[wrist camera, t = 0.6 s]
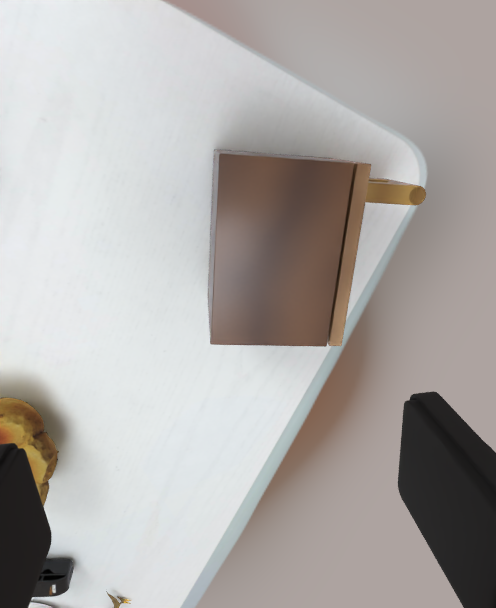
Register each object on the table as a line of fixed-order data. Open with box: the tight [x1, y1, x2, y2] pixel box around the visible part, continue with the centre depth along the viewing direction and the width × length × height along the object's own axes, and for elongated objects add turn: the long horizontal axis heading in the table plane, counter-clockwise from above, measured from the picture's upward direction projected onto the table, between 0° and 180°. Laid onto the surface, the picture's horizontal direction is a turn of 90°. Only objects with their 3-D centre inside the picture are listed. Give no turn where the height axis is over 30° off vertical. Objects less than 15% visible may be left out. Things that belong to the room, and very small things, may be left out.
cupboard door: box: [318, 157, 426, 346], centre depth 36 cm, size 6×14×10 cm, turn 176°
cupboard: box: [208, 150, 354, 346], centre depth 35 cm, size 9×14×11 cm, turn 176°
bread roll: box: [0, 398, 59, 506], centre depth 42 cm, size 13×10×8 cm
